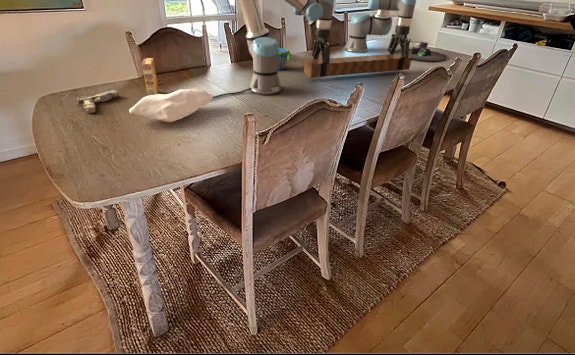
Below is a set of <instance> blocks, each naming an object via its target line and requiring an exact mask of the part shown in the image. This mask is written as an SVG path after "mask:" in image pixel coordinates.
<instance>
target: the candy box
mask: <svg viewBox="0 0 575 355" xmlns="http://www.w3.org/2000/svg"><path fill="white" fill-rule="evenodd" d="M141 66H142V73H143V78H144V82H145V87H146V92H147V96H150V95H156V94H159V91H160V90H159V84H158V79H157V73H156V66H155V62H154V58H153V57H151V58H150V57H149V58H146V57H145V58H143V60H142V63H141Z"/></svg>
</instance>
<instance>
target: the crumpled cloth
mask: <svg viewBox="0 0 575 355" xmlns="http://www.w3.org/2000/svg"><path fill="white" fill-rule="evenodd" d="M213 97H214V96H213V94H212V93H210V92H208V91H206V90H203V89H201V88H187V89H186V88H185V89H184V88H183V89H177V90H175V91H173V92H171V93H167V94H163V93H158V94H156V95H150V96H148V95H146V96H144V97H142V98H141V99H140V100H139V101H138V102H137V103H136V104H134V105H133V106H132V107H131V108H129V114H130V115H135V116H140V117H145V118H146V119H149V120H152V121H155V120H158V121H163V122H166V123H174V122H176V121H178V120H181V119H183V118H185V117H188V116H190V115H192V114H193V113H195V112H196V111H197V110H199V109H200V108H202V107H204V106H206V105H207V104H210V102H211V101H212V100H213V99H214V98H213ZM212 98H213V99H212Z"/></svg>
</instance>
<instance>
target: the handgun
mask: <svg viewBox="0 0 575 355" xmlns="http://www.w3.org/2000/svg"><path fill="white" fill-rule="evenodd" d="M119 96H120V94H119V92H118V91H117V90H116V89H112V90H108V91H105V92H104V91H103V92H101V93H96V94H94V95H86V94H85V95H84V94H83V95H81V96H80V97H77V98H76V101H77V104H78V105H82V108H83V109H84V110H85V113H87V114H91V113H95V112H96V104H95V103H98V102H106V101H109V100H111V99H113V98H117V97H119Z"/></svg>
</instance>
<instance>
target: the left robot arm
mask: <svg viewBox="0 0 575 355" xmlns="http://www.w3.org/2000/svg"><path fill="white" fill-rule="evenodd" d="M284 1H285V2H286V3H287V4H289V5H290V6H291V7H292V12H293V14H294V15H295V16H299V17H300V16H303V17H305V18H306V19H307V20H309V21H310V22H315V32H314V34H315V36H314V38H313V45H312V50H311V56H312V58H313V59H320V53H321V59H322V62H323V63H321V64H322V65H321V74H320V76H321V77H320V78H323V77H322V76H326V68H327V64H329V63H330V58H331V42H328V39H329V38H330V37H331V32H332V31H331V29H332V24H333V13H334V12H333V11H334V6H335V0H284ZM238 2H239V7H240V10H241V13H242V16H243V20H244V23H245V27H246V31H247V32H246V35H245V39H246V42H247V48H248V52H249V54H250V55H251V57H252V69H253V70H252V77H251V81H250V83H249V88H246V89H243V90H241V91H235V92H227V93H226V92H225V93H221V94H218V95H215V96H213V98H212V100H213V99H216V98H219V97H223V96H229V95H238V94H242V93H245V92H248V91H250V92H251V93H253V94H255V95H261V96H271V95H277V94H279V93H281V92H282V85H281V81H280V78H279V69H278V50H279V48H280V47H279V42H278V41H277V40H276V39H274V38H272V37H271V34H270V30H269V29H268V28H267V27H265V23H264V19H263V14H262V11H261V6H260V2H259V0H238Z"/></svg>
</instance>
